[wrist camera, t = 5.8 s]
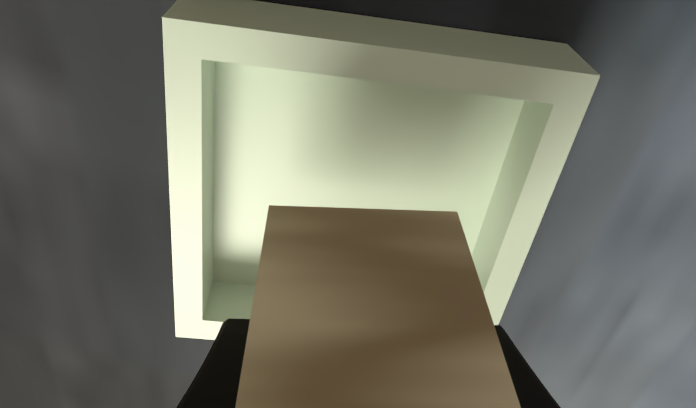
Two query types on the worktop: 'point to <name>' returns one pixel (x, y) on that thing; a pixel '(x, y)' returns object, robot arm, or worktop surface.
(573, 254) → the worktop surface
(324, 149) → the tray
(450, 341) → the block
